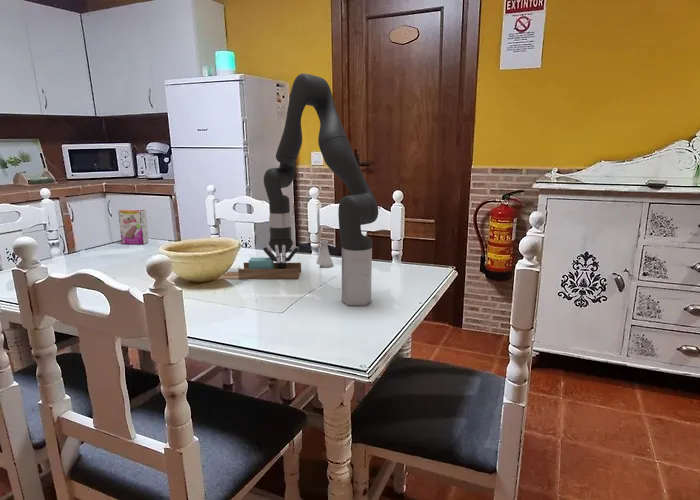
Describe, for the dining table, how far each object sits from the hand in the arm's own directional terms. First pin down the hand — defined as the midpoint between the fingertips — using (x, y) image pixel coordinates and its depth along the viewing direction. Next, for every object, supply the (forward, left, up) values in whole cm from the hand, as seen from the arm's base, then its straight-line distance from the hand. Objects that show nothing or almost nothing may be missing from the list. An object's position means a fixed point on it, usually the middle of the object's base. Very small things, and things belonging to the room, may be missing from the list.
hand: (281, 272), depth 173 cm
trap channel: (0, +9, -2) cm, 9 cm away
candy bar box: (+57, +78, -3) cm, 96 cm away
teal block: (0, +7, -1) cm, 7 cm away
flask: (+18, -14, -3) cm, 23 cm away
